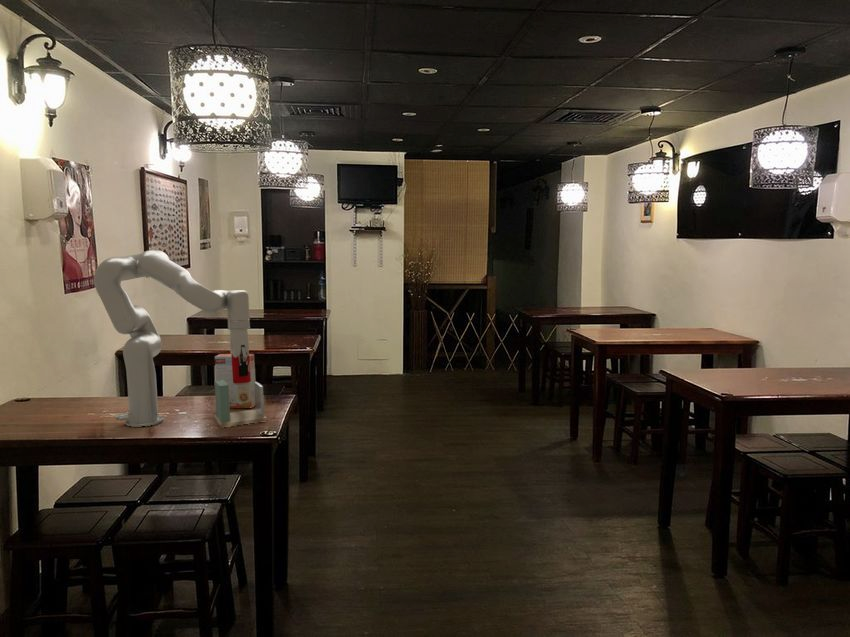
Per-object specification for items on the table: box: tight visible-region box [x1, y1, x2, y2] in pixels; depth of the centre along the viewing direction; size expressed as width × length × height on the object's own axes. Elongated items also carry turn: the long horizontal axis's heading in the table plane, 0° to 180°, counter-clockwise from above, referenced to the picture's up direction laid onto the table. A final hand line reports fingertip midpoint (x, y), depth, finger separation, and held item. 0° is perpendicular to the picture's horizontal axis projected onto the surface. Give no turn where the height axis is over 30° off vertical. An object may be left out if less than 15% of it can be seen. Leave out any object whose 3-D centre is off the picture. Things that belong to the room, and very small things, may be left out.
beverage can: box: [232, 353, 251, 385], centre depth 235 cm, size 6×6×12 cm
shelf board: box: [213, 409, 268, 429], centre depth 236 cm, size 16×14×2 cm
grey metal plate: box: [254, 381, 265, 417], centre depth 239 cm, size 1×9×11 cm, turn 28°
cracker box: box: [214, 353, 256, 409], centre depth 254 cm, size 14×6×21 cm, turn 84°
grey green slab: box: [214, 380, 231, 422], centre depth 233 cm, size 3×10×13 cm, turn 28°
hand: (241, 373), depth 235 cm, fingers closed on beverage can, 6 cm apart
